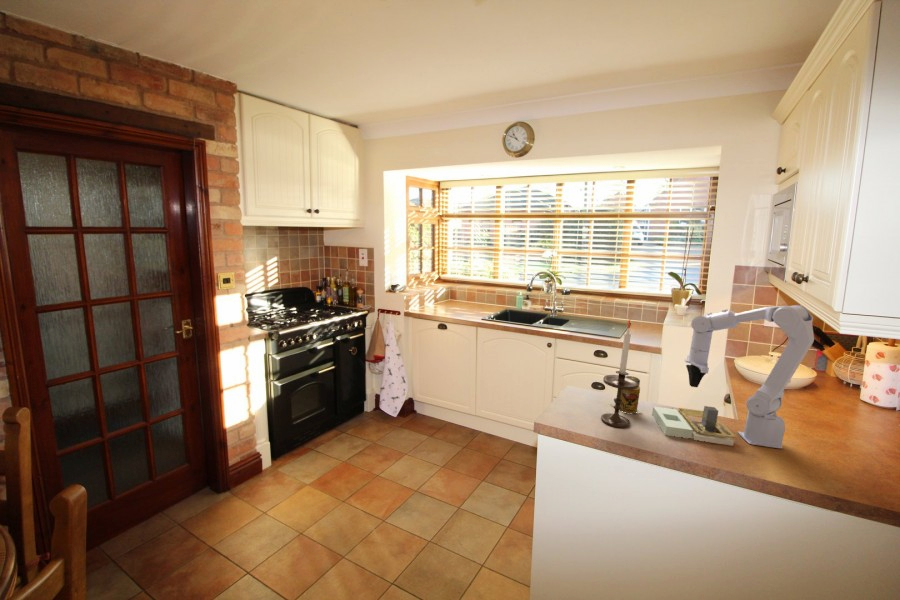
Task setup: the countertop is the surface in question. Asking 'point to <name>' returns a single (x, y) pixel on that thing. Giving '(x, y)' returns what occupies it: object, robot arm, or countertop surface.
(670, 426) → the square cutout plate
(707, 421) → the peg
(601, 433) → the countertop surface
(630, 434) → the countertop surface
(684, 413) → the gold rectangular frame
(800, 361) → the robot arm
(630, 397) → the condiment
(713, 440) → the socket block
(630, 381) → the candlestick
